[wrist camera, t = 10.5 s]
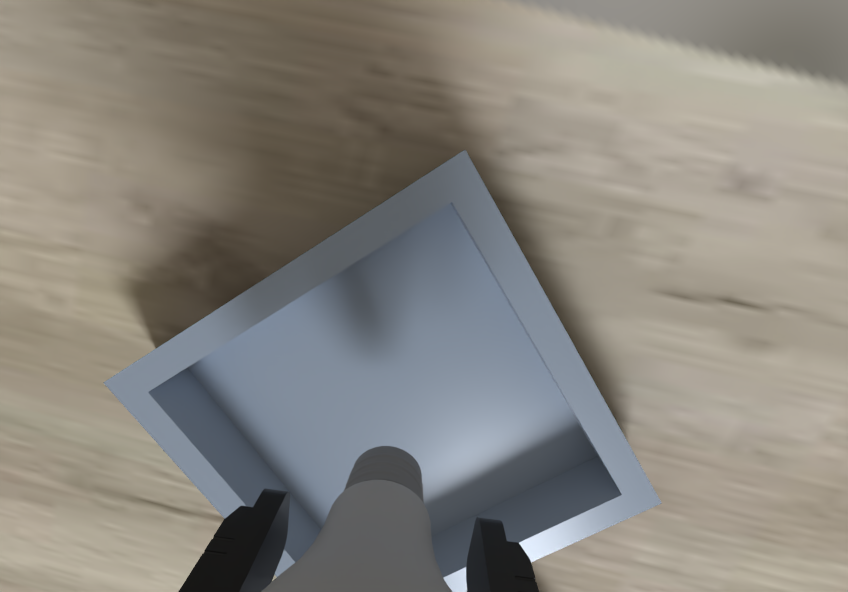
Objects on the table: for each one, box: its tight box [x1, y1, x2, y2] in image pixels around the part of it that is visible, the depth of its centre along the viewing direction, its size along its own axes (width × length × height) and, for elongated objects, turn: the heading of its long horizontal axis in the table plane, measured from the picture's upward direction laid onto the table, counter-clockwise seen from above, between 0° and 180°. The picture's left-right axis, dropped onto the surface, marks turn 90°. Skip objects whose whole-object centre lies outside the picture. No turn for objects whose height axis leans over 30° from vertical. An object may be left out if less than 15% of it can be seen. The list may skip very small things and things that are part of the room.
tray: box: [103, 150, 661, 592], centre depth 17 cm, size 16×16×3 cm
